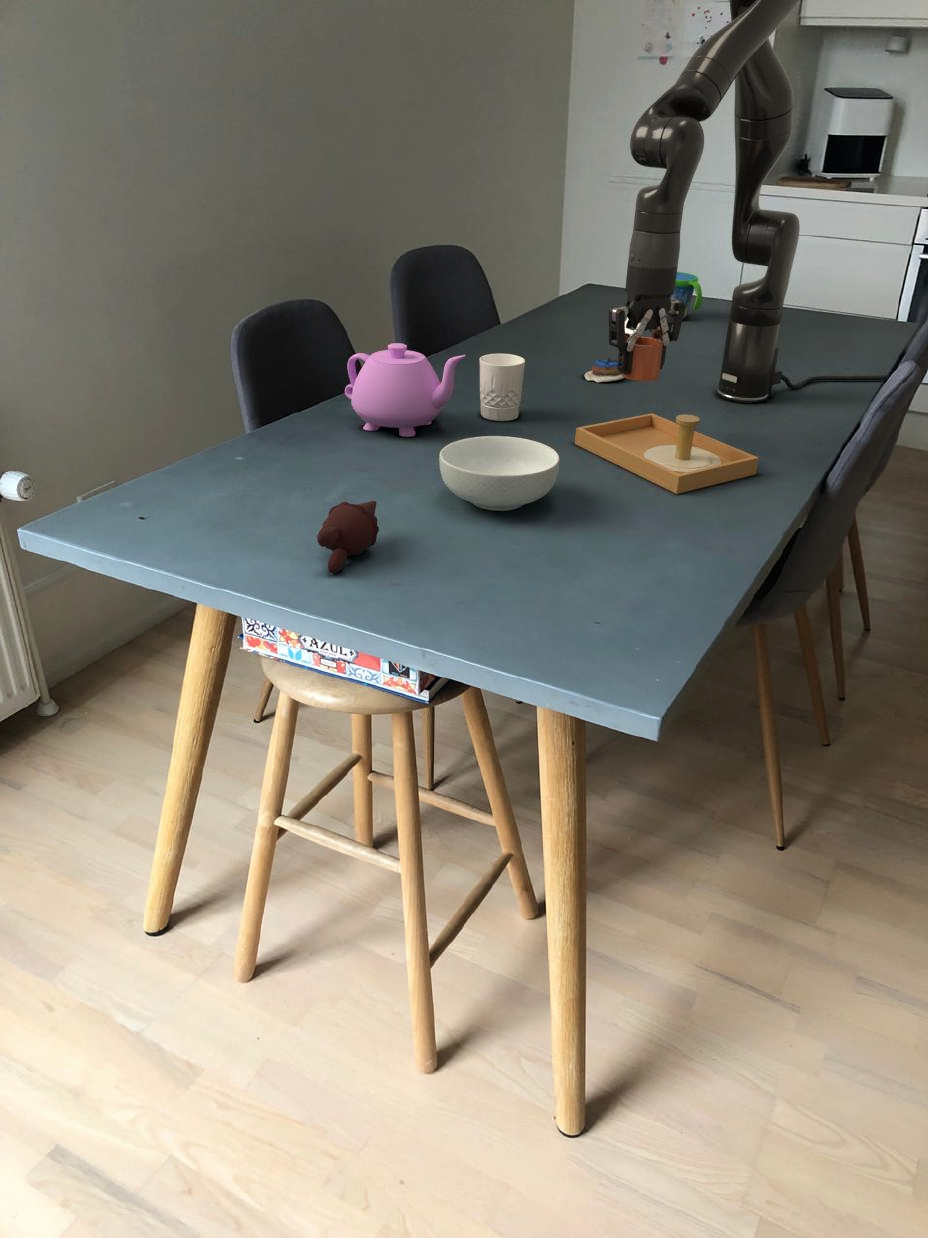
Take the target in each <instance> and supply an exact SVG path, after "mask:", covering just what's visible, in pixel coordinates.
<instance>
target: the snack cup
mask: <svg viewBox="0 0 928 1238" xmlns="http://www.w3.org/2000/svg"><path fill="white" fill-rule="evenodd" d="M698 281H699V277H698V276H697V275H696V274H693V273H689V272H685V271H683V272H682V271H677V276H676V284H675V291H674V294H673V295H671V296H670V298H671V300H675V301H680V302H682V303H685V310H684V315H683V319H682V321H683V320H684V319H686V317H687V315H688V313H689V309H690V306H691V302H692V298H693V295H694V293H695V294H696V298H695V301H694V306H693V310H695V311H697V310H699V309H700V308H701V306H702V304H703V290H702V287H701V284H700V283H699V282H698ZM666 317H667V315H666Z"/></svg>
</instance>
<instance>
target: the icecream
mask: <svg viewBox="0 0 928 1238" xmlns="http://www.w3.org/2000/svg"><path fill="white" fill-rule="evenodd" d="M376 509H377V501H376V500H370V501H365V502H361V503H358V504H356V503H350V502H348V501H341V502H339V504H337V505H334V506H331V508H330V509H329V510H328V515H327V517H326V519H325V520H324V521H323V522H322V525H321V528H320V530H319V531H318V533H317V535H316V540H317V543H318V545H319V546H320V547H322V548H324V547H325V549H328V550H331V551H332V553H331V554H330V557H329V559H328V562H327V570H328V572H329V573H330V574H337V573H338V572H339V571H340V570H342V568H343V567H345V564H346V562H347V559H348V558H347V556H357V555H360V554H362V553H363V552H365V551H366V550H368V548H371V547H373V546H375V544H376V543H377V537H378V533H379V530H380V528H379V526H378V517H377V516H376V515H375V513H376Z"/></svg>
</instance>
